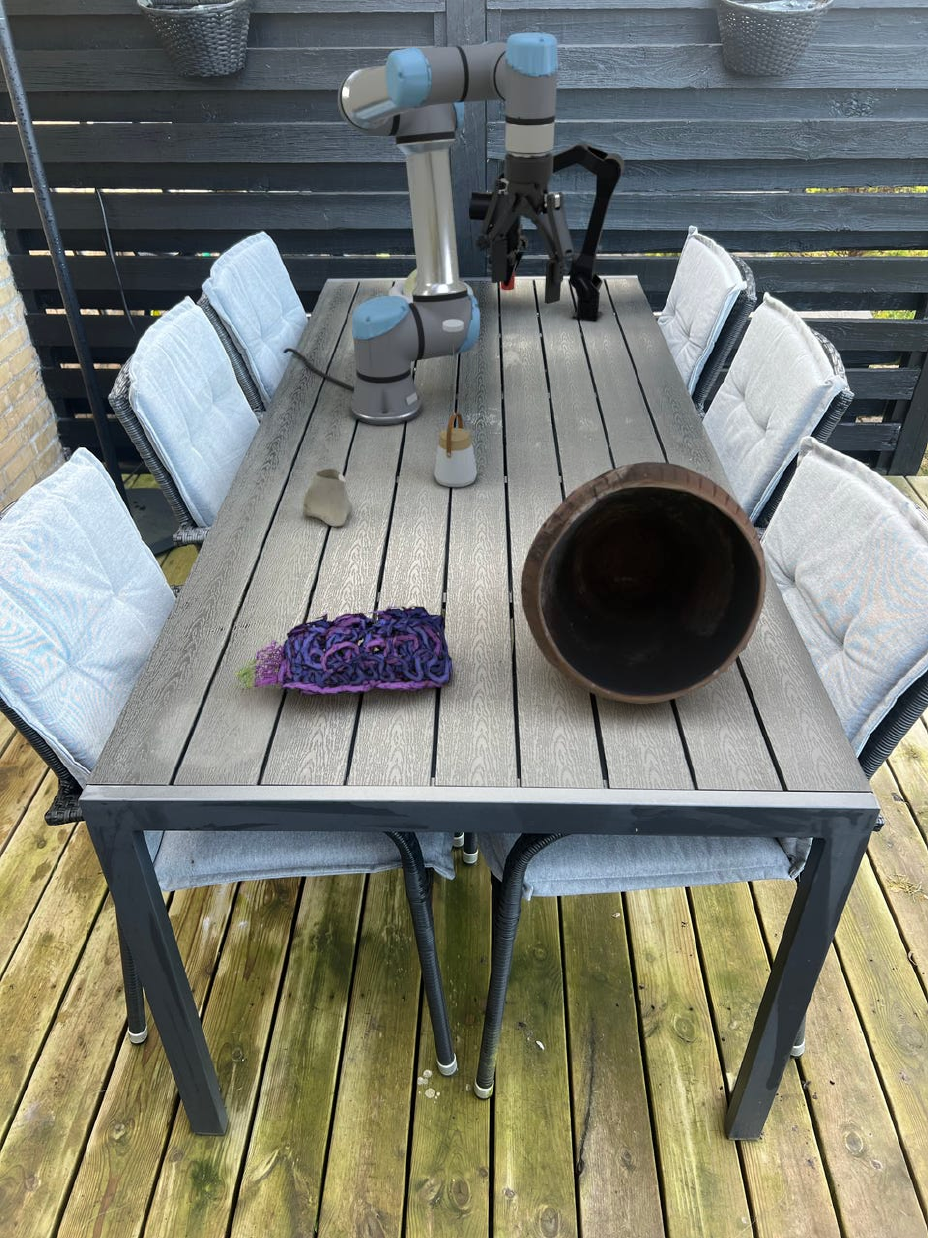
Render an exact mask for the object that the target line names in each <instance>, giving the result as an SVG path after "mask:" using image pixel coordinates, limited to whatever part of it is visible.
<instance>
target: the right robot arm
mask: <svg viewBox="0 0 928 1238" xmlns="http://www.w3.org/2000/svg"><path fill="white" fill-rule="evenodd" d="M552 155H553V174H554V173H557V172H559V171H562V170H565V169H567V168H569V167H571V166H574V165H577V164H578V165H579V166H581V167H582V168H584V169H586V170H587V171H589V172H590V173H592V174H593V175H595V176H596V182H595V198H594V202H593V205H592V209H591V214H590V217H589V219H588V224H587V228H586V232H585V236H584V240H583V243H582V247H581V250H580V253H578V252H574V253H575V257H574V258H573V259H571V261H570V269H569V271H568V272H567V275H568V276H569V283H570V285H571V287H572V288H573V289H575V290H574V291H575V293H576V296H577V302H576V303H577V305H576V312H575V313H574V314H573V315H572V319H574V320H582V321H589V322H590V321H591V322H596V321H598V319H599V318H600V317H601V316H602V314H603V311H599V309H600V308H599V307H600V297H601V296H600V295H601V292H600V290H601V287H602V285H603V284H604V283H603V282H604V281H603V279H602V278H601V277H600V276H599V274H597V272H596V269H597V253H598V248H599V244H600V240H601V237H602V233H603V230H604V225H605V222H606V219H607V214H608V211H609V207H610V204H611V200H612V197H613V194H614V192H615V191H616V189H617V187H618V184H619V182H620V179H621V178H622V175H623V173H624V171H625V167H626V166H625V165H626V164H625V163H626V162H625V160H624V158H623V157H622V156H621V155H620V154H619V153H613V152H612V153H608V152H606V151H604V150H602V149H599V148H597V147H596V148H595V147H593V146H591V145H588V144H587V143H585V142H582V141H581V142H577V143H576V144H575V145H573V146H570V147H567V148H565V149H563V150H560V151H558V152H556V153H552ZM504 178H505V177H504V171H502V172H501V173H500V175H499V176H498V178H497V180H499V179H504ZM493 194H494V189H493V190H492V192H489V191H479V190H473V191H472V192H471V194H470V195H471V197H470V201H469V207H468V217H469V220H470V221H471V220H473V221H485V218H486V215H487V212H488V209H489V206H490V203H491V200H492V197H493ZM508 200H509V197H508ZM508 200H507V202H508ZM523 228H524V227H523V223H522V216H517V218H516V219H515V221H514V222H513V224H512V225H511V227H510V229H509V230H508V232H507V233H506V235H505V237H506V238H505V239H501V241H502V240H505V241H507V267H506V280H505V281H503V282H504V285H505V286H508V285H509V283H510V280H511V278H512V275H513V272H514V270H515V274H516V273H517V270H518V268H519V266H520V264H521V261H522V259H523V257H524V255H525V251H521V250H520V248H521V247H523V250H527V249H528V248H529V238H528V237H527V236H526V235H521V231H522V230H523ZM475 242H476V244H475V246H476V247H477V248H478V249H479V251H480V252H483V251H485V250H487V249H490V241H489V239H488V237H487V236H486V235H482V233H481V234H479V235H477V238H476V239H475ZM488 265H490V266H492V260H491V258H490V255H489V256H488Z"/></svg>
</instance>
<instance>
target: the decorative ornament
mask: <svg viewBox="0 0 928 1238" xmlns="http://www.w3.org/2000/svg"><path fill="white" fill-rule="evenodd" d="M401 608H402V609H400V607H398V606H391V605H390V606H387V608H386V609H385V610H375V611H369V612H357V613H347V612H346V613H345V614H341V615H339V616H336V617H335V619H333V620H328V613H325V614H323V615H322V616H317V617H316V618H314V620H313V621H309V622H303V623H300V624H298V625H294V627H292V628H291V629H290V630H289V631H288V632H287V633H286V636H287V639H286V640H284V643H283V644H280V645H278V646H277V644H278V641H277V640H274V639H273V640H272V641H270V643H268V644H269V646H265V649H264V648H262V649H261V650H260V651H259V650H258V651H257V653H256V655H255V656H254V657H255V658H254V659H253V660H252V661H250V663H248V664H247V665H245V666H243V667H241V668H239V669H238V670H236V673H235V675H236V677H235V679H238V681H239V683H238V684H237V686H236V688H235V690H238V689H240V687H239V686H242V685H243V684H244V685H243V686H242V687H241V689H242V690H241V693H243V692H244V690H251V689H260V688H261V689H260V690H262V691H263V688H264V686H266V688H267V690H268V689H269V690H270V689H273V687H269V688H268V686H271V685H276V689H280V690H285V692H286V693H289V691H290V690H298V691H297V693H298V695H301V696H310V697H311V696H312V697H317V696H331V695H342V694H347V693H348V694H365V693H370V690H395V691H397V690H402V691H403V692H404V693H405V692H419V691H420V690H421V689H433V688H434V689H436V688H438V689H439V688H442V684H444V683H445V684H446V683H450V680H451V677H452V673H453V672H454V670H453V658H452V657H451V656H450V654H449V652H450V651H449V647H448V643H447V640H446V635H445V633H444V630H445V629H446V621H445V617H444V616H443V614H430V613H429V612H428V610H427V609H426V608H425V607H424V606H419V605H418V606H416V605H412V606H410V607H405V606H401ZM366 614H376V618H377V619H376V618H375V619H374V618H370V617H368V616H367V615H366ZM373 621H375V622H373ZM360 641H361V642H360ZM359 642H360V644H359ZM276 646H277V647H276ZM376 649H377V650H376ZM265 653H267V655H265ZM251 666H253V667H251ZM265 666H266V667H265ZM253 674H254V675H253ZM425 675H426V676H425ZM278 685H280V686H278ZM277 686H278V687H277Z"/></svg>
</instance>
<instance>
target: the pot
mask: <svg viewBox="0 0 928 1238" xmlns="http://www.w3.org/2000/svg"><path fill="white" fill-rule="evenodd" d="M524 560H525V561H524V563H523V568H522V573H521V580H520V592H521V593H520V595H521V607H522V610H523V611H522V612H523V613H524V616H525V620H526V623H527V626H528V628H529V630H530V634H531V635H532V637H533V639H534V641H535V643H536V645H537V647H538V649H539V650H540V652H541V653H542V655H543V656H544V658H545V659H546V661H547V662H548V664H550V665H551V666H552V667H553V668H555V669H556V670H557V671H558V672H559V673H560V674H561V675H563V676H564V677H565V678H566V679H567V680H568V681H570V682H571V683H572V684H574V685H576V686H577V687H580V688H581V689H583V690H585V691H587V692H589V693H591V694H593V695H595V696H598V697H601V698H603V699H606V700H611V701H615V702H623V703H629V704H635V705H647V704H657V703H664V702H668V701H671V700H674V699H678V698H682V697H685V696H687V695H689V694H691V693H693V692H695V691H698V690H700V689H701V688H703V687H705V686H708V685H709V684H711V683H712V682H713V681H714V680H716V679H717V678H719V677H720V676H722V675H723V674H724V673H726V672H727V671H728V669H729V667H731V666H732V665H733V664H734V662H735V661H736V660H737V658H738V657H739V656H740V654H741V653H743V651H745V650H746V649H747V647H748V644H749V642H750V640H751V639H752V636H753V634H754V633H755V630H756V628H757V624H758V622H759V620H760V617H761V614H762V610H763V608H764V605H765V600H766V591H767V569H766V559H765V553H764V549H763V547H762V544H761V541H760V537H759V533H758V531H757V529H756V528H755V526H754V524H753V522H752V521H751V519H750V517H749V515H748V514H747V513H746V512H745V510H744V509H743V508H742V506H741V505H740V504H739V503H738V501H736V500H735V499H734V497H732V496H731V495H730V493H728V492H727V491H726V490H725V489H724V488H723V487H722V486H721V485H719V484H718V483H717V482H714V480H712V479H711V478H709V477H707V476H706V475H705V476H704V475H703V474H701V473H699V472H697V471H694V470H692V469H690V468H687V467H684V466H681V465H679V464H675V463H669V462H662V461H661V462H660V461H658V462H657V461H642V462H636V463H632V464H631V463H630V464H626V465H621V466H619V467H615V468H612V469H609V470H607V471H605V472H603V473H601V474H599V475H598V476H596V477H594V478H592V479H590V480H588V481H586V482H585V483H583V484H581V485H580V486H579V487H577V488H575V489H574V490H573V491H572V492H571V493H569V495H567V496H566V497H565V498H564V499H563V501H562V502H561V503H560V504H559V505H558V506H557V507H556V508H555V509H554V511H553V512H552V513H551V514H550V515H549V516H548V517H547V518H546V520H545V521H544V522H543V524H541V526H540V528H539V530H538V531H537V533H536V535H535V536H534V539H533V541H532V542H531V544H530V547H529V548H528V551H527V554H526V557H525V559H524Z"/></svg>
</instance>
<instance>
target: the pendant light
mask: <svg viewBox="0 0 928 1238" xmlns="http://www.w3.org/2000/svg"><path fill="white" fill-rule="evenodd" d="M463 328H464V323H463V321H461V320H455V319H451V320H446V321H444V322H443V330H445V331H448V332H453V356H452V365H453V366H452V367H453V369H452V370H453V377H455V355H454V332H458V331H461V330H463ZM455 391H456V390H455V388H453V413H451V415H450V416H449V419H448V423H447V427H446V428H445V429H443V430H442V431H440V433H439V437H438V442H437V450H436V458H435V464H434V472H433V475H434V479H435V481H436V482H437V483H438V484H439V485H442V486H444V487H449V488H463V487H467V486H469V485H471V484H473V483H474V482H475V480H476V478H477V474H478V470H477V465H476V459H475V453H474V447H473V441H472V438H471V433H470V432H469V431H468V430H467V429H464V424H463V423H464V420H463V416H462V414H461V413H459V412H456V397H455V393H456V392H455ZM456 418H457V427H453V426H454V422H455V419H456Z"/></svg>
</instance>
